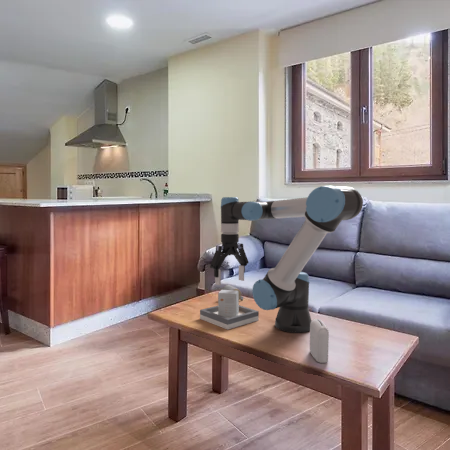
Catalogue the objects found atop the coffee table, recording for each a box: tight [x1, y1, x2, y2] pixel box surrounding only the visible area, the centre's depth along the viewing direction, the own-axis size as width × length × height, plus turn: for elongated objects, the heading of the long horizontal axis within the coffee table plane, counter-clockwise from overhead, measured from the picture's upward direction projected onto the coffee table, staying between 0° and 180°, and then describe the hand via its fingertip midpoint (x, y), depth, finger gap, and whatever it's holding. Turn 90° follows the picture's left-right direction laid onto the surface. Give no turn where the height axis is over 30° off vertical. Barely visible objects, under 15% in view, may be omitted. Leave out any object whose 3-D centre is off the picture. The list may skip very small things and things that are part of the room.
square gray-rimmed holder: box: [199, 304, 260, 330], centre depth 166 cm, size 18×18×4 cm
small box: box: [217, 289, 240, 317], centre depth 165 cm, size 8×6×10 cm
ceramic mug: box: [221, 284, 244, 301], centre depth 197 cm, size 11×8×8 cm
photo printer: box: [309, 318, 330, 364], centre depth 128 cm, size 10×4×12 cm, turn 3°
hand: (230, 282), depth 165 cm, fingers open, 13 cm apart
